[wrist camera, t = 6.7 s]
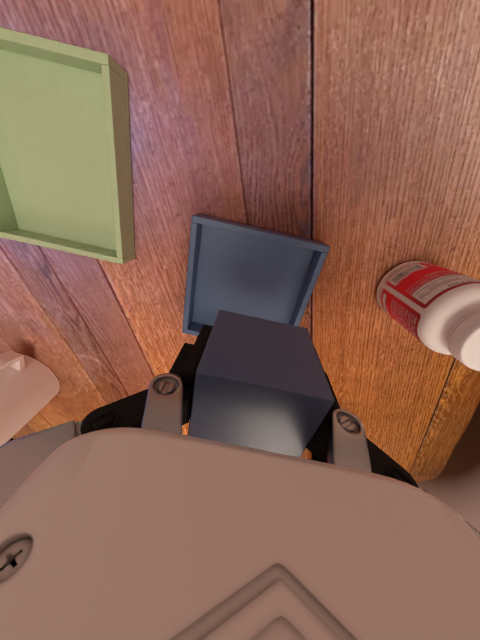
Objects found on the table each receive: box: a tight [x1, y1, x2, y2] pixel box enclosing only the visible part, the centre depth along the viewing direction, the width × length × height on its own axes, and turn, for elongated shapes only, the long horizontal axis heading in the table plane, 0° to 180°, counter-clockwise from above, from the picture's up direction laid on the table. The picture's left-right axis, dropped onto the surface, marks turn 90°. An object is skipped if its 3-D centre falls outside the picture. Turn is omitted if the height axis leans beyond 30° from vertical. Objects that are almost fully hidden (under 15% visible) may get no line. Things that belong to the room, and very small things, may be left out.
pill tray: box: [0, 27, 135, 264], centre depth 20 cm, size 15×13×3 cm
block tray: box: [182, 214, 330, 336], centre depth 24 cm, size 13×13×3 cm
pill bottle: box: [376, 261, 480, 371], centre depth 19 cm, size 6×6×11 cm
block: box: [188, 310, 334, 457], centre depth 11 cm, size 5×5×5 cm
